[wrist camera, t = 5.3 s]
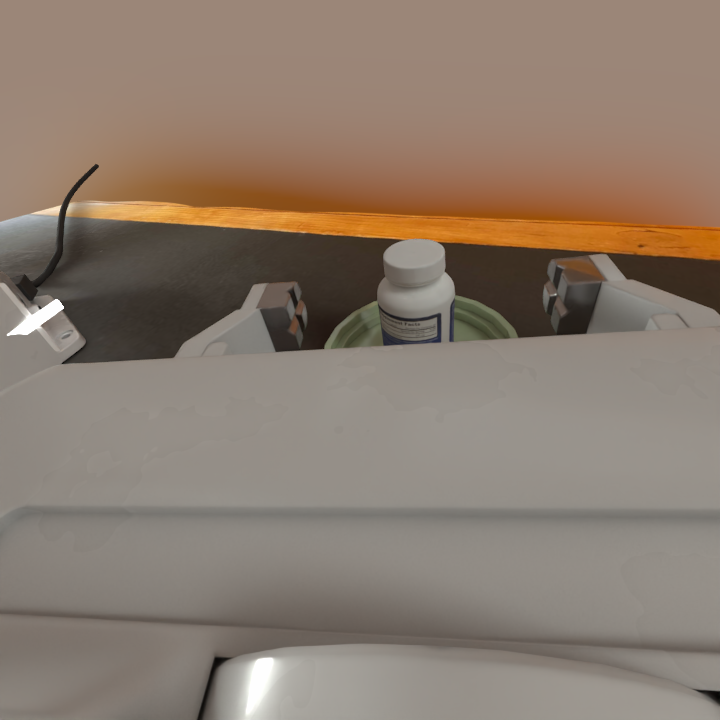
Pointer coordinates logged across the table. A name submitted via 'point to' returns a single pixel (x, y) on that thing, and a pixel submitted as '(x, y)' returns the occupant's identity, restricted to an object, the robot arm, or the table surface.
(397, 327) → the pill bottle
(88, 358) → the table surface
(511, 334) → the dish
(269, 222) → the table surface
